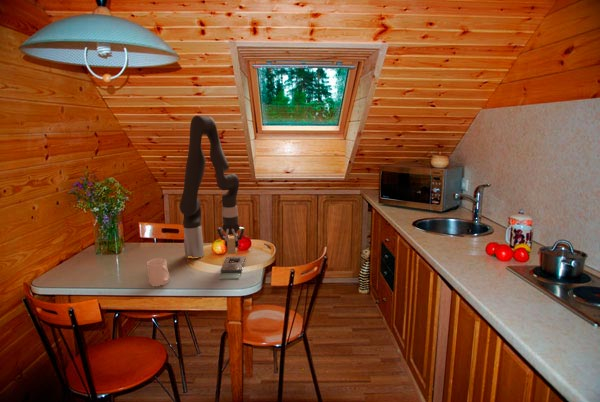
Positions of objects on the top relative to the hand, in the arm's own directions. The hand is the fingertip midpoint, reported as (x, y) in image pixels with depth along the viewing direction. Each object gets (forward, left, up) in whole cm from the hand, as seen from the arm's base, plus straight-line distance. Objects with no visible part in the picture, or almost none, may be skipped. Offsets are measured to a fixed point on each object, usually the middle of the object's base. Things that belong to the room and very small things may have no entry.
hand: (232, 247), depth 213 cm
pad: (0, -14, -10) cm, 17 cm away
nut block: (0, 0, -3) cm, 3 cm away
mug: (-31, -20, -10) cm, 38 cm away
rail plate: (0, -3, -10) cm, 10 cm away
